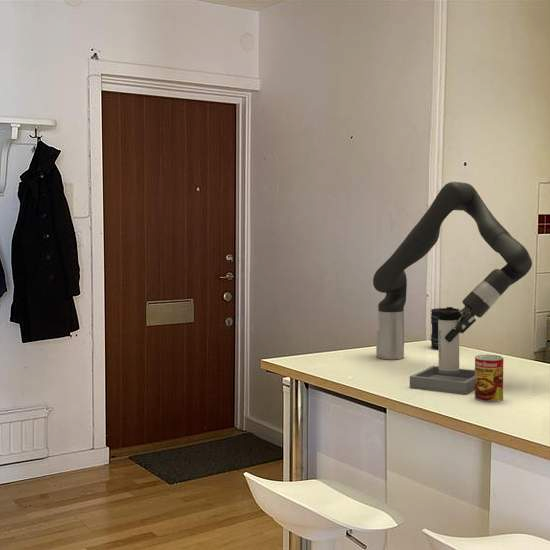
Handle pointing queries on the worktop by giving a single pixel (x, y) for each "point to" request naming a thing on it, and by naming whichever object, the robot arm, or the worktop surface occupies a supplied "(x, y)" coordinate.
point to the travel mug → (448, 349)
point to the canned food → (489, 378)
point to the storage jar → (434, 328)
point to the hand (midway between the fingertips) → (443, 338)
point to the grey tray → (444, 381)
